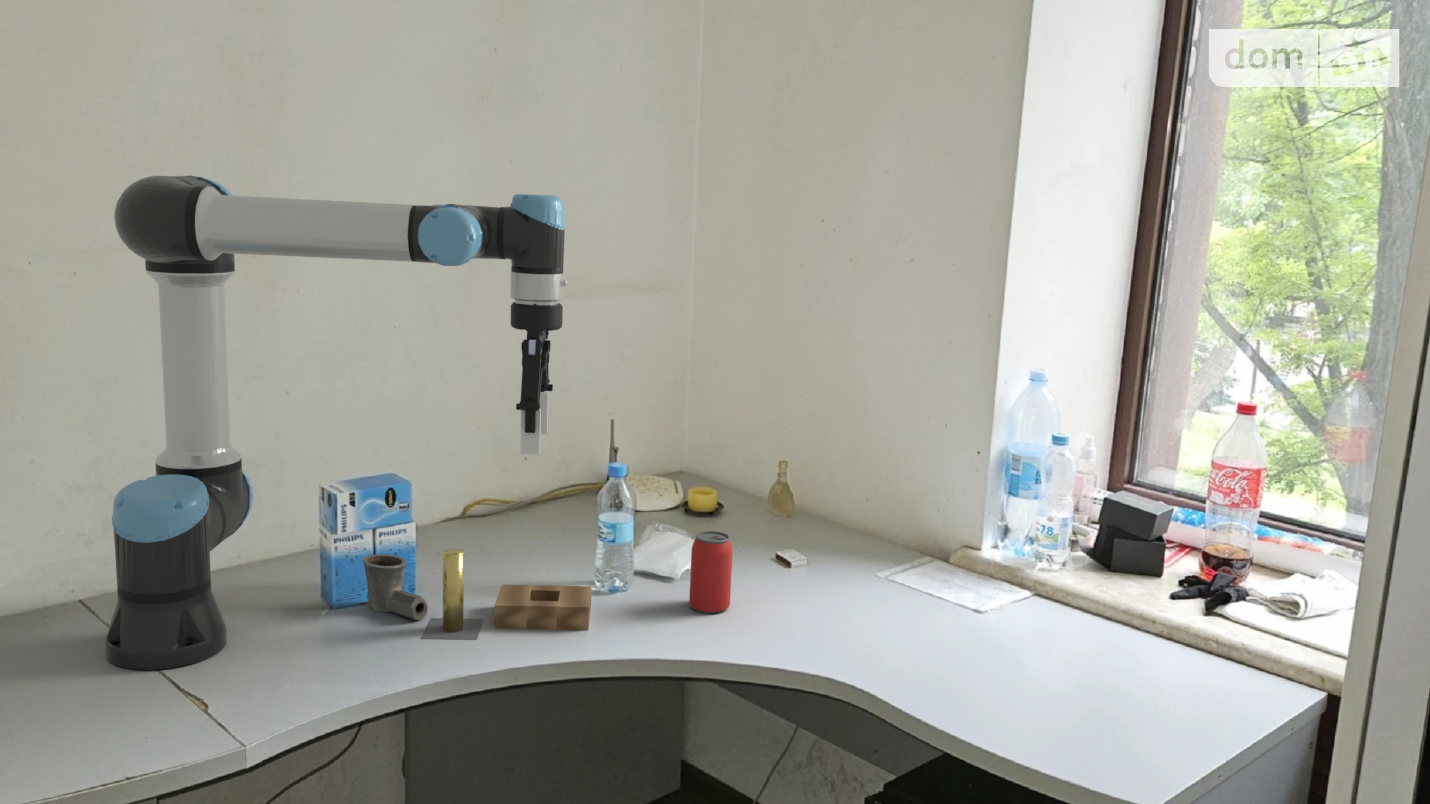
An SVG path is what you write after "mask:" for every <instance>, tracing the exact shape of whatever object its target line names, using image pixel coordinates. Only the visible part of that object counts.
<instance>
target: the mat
mask: <svg viewBox="0 0 1430 804" xmlns="http://www.w3.org/2000/svg"><path fill="white" fill-rule="evenodd" d="M484 620H485V619H484V618H464V622H463V630H462V631H459V632H454V633H450V632H445V631H443V617H442V618H441V617H430V619H429V621H428V622H427V625H426V627H425V629H424V631H423V633H422V635H421V637H420V640H443V641H445V640H451V641H452V640H455V641H456V640H457V641H458V640H459V641H477V640H478V637H479V634H480V632H481V629H482V625H483V623H484Z"/></svg>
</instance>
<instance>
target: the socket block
mask: <svg viewBox="0 0 1430 804" xmlns="http://www.w3.org/2000/svg"><path fill="white" fill-rule="evenodd" d="M499 588H500V589H499V591H498V594H497V596H496V597H497V598H496V600H495V603H494V614H493V615H494V617H493V619H494V620H493V621H494V625H493V626H494V627H493V628H494V629H506V630H507V629H508V630H510V629H511V630H512V629H513V630H552V631H554V630H555V631H556V630H558V631H559V630H561V631H565V630H566V631H589V628H590V621H591V610H592V586H591V585H590V586H589V585H588V586H587V585H582V586H581V585H579V586H578V585H547V584H546V585H544V584H543V585H541V584H539V585H538V584H535V585H534V584H501V586H500V587H499Z"/></svg>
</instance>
